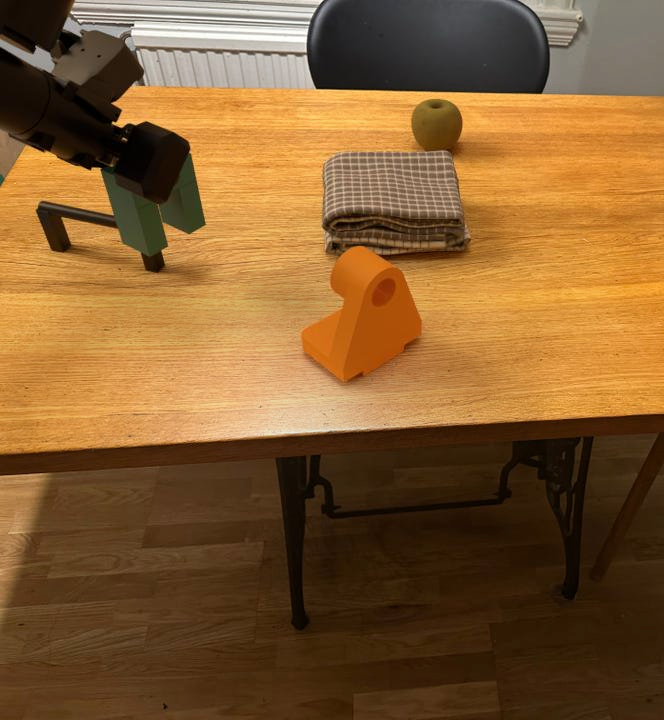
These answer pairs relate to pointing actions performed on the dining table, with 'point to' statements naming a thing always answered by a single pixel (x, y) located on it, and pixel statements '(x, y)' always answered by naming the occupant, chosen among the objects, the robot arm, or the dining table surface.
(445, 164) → the towel
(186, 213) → the dark green block
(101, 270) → the dining table surface
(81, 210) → the dark pull handle
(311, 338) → the bracket
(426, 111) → the apple
